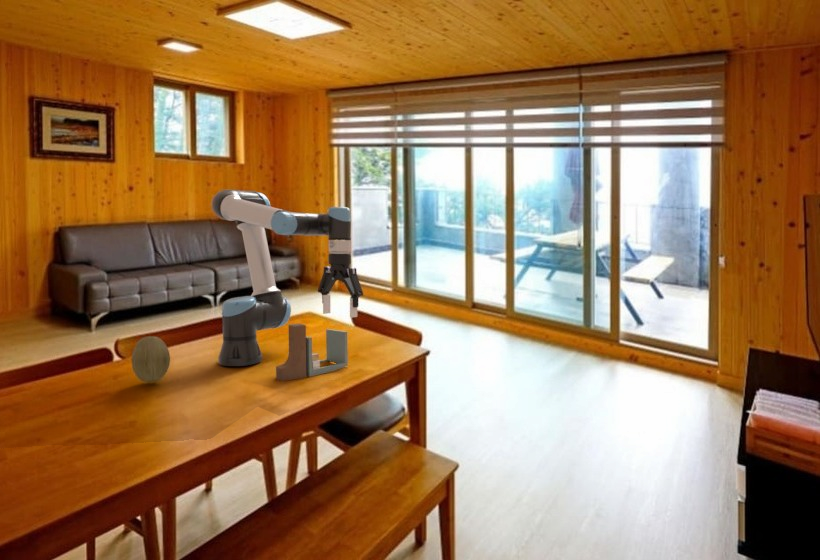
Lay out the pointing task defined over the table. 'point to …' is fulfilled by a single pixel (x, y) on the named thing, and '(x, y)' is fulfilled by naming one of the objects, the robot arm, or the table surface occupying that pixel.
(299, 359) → the wooden block
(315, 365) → the offcut mid
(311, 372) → the rack
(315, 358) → the offcut top
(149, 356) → the fruit
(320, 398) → the table surface
